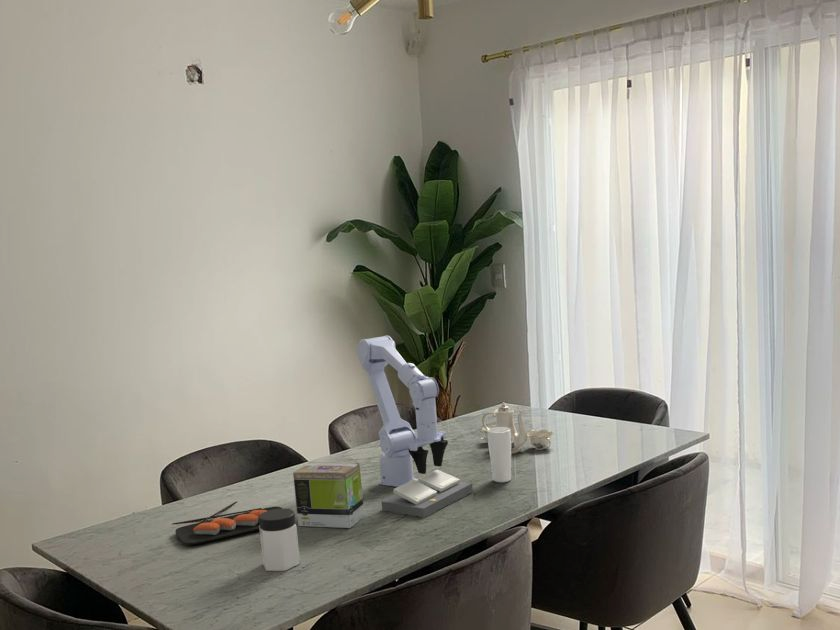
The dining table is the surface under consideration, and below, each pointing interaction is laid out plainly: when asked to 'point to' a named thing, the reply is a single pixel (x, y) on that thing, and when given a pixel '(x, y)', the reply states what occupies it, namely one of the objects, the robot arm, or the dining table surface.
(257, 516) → the sushi plate
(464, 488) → the switch panel
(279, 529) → the jar
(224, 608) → the dining table surface
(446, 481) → the switch
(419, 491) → the switch
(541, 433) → the chinaware
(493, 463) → the drinking glass
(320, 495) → the tea box
